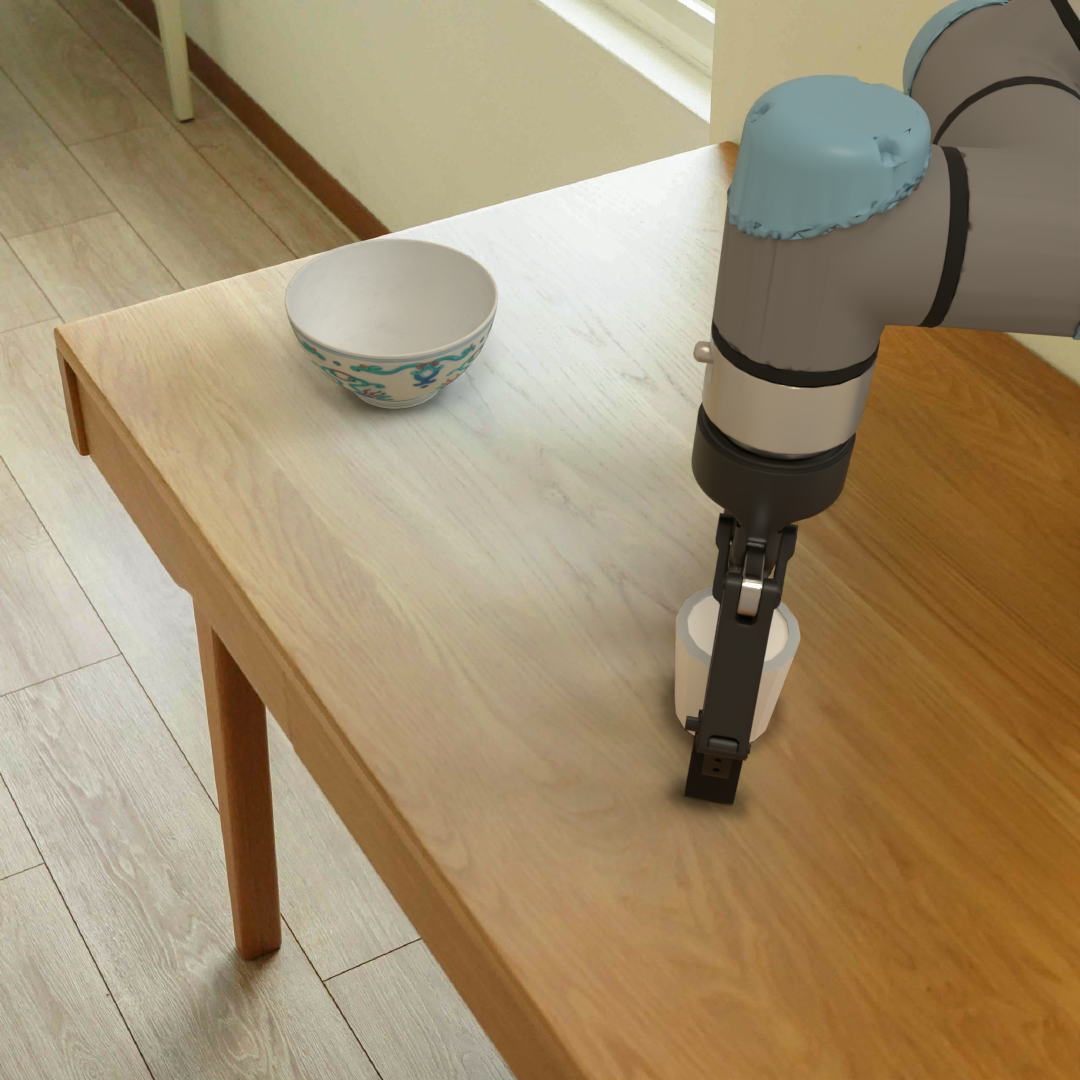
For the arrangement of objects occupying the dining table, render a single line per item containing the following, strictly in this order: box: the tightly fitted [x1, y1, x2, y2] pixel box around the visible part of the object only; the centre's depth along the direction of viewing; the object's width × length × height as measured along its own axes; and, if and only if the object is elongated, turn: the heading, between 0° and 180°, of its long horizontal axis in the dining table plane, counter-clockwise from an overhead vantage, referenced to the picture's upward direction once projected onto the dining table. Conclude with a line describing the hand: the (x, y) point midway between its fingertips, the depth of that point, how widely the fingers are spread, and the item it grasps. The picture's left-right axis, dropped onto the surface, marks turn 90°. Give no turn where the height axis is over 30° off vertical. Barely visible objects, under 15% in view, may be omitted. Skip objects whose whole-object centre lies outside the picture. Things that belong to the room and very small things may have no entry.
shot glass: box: [674, 585, 802, 743], centre depth 76 cm, size 7×7×7 cm
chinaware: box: [284, 238, 499, 410], centre depth 98 cm, size 15×15×8 cm
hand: (720, 706), depth 78 cm, fingers open, 12 cm apart
